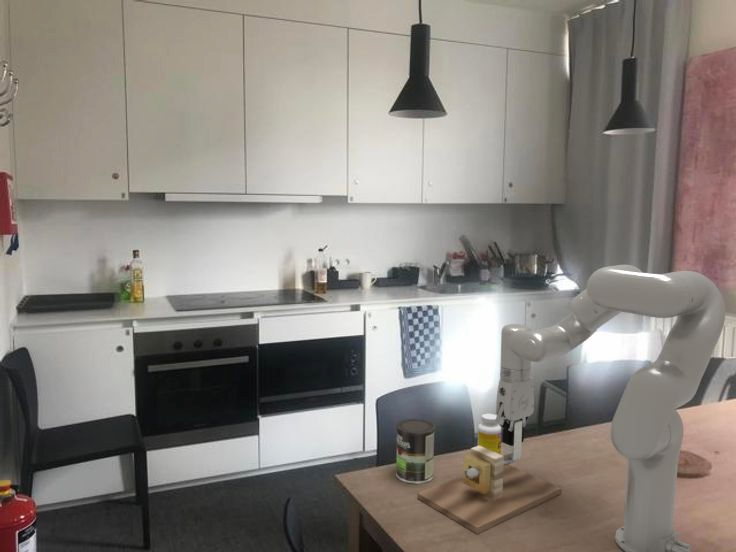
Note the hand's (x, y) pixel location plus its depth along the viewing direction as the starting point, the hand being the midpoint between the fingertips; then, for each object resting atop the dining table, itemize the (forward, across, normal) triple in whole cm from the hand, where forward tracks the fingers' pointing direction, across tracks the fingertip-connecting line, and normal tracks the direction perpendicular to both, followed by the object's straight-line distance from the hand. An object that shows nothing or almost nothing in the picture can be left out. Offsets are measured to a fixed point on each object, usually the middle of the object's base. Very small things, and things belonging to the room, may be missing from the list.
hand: (513, 441), depth 152 cm
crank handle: (+5, -8, 0) cm, 9 cm away
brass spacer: (+8, -14, 0) cm, 16 cm away
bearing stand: (+12, -8, 0) cm, 15 cm away
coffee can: (+13, -16, +20) cm, 28 cm away
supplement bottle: (+12, +8, +15) cm, 21 cm away
